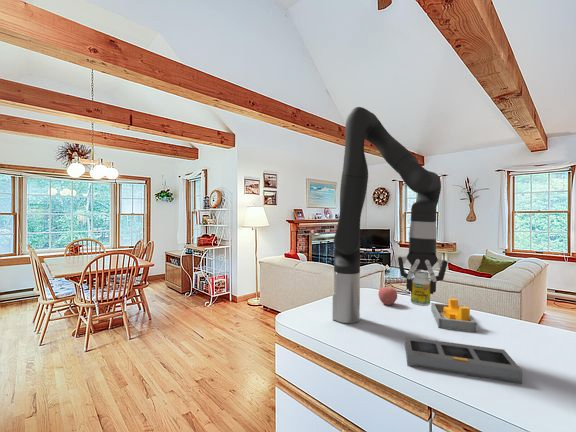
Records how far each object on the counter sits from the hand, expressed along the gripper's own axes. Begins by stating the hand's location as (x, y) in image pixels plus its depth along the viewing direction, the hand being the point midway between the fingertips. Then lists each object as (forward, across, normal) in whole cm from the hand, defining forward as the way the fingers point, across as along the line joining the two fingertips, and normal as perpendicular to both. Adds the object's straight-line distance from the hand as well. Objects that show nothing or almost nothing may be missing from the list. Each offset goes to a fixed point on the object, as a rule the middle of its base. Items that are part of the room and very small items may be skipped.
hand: (420, 292), depth 89 cm
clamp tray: (+14, +12, +23) cm, 29 cm away
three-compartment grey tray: (+14, +8, -12) cm, 20 cm away
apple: (+15, -10, +34) cm, 39 cm away
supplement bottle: (+4, 0, 0) cm, 4 cm away
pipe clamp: (+15, +14, +23) cm, 30 cm away
